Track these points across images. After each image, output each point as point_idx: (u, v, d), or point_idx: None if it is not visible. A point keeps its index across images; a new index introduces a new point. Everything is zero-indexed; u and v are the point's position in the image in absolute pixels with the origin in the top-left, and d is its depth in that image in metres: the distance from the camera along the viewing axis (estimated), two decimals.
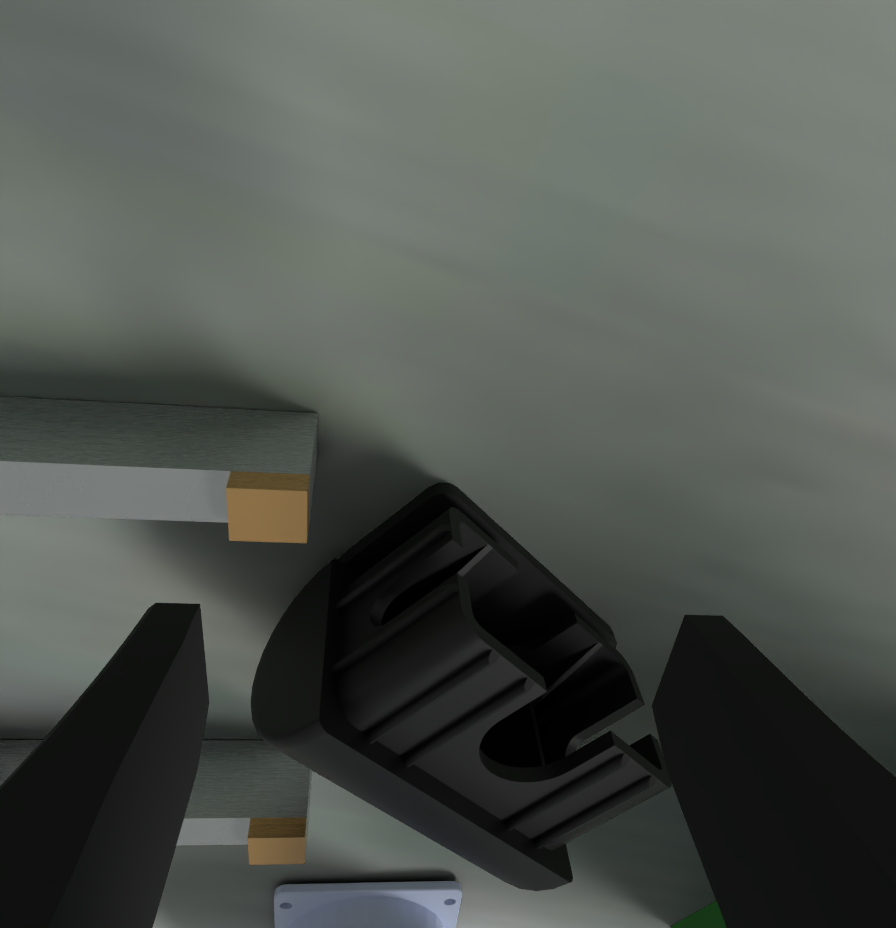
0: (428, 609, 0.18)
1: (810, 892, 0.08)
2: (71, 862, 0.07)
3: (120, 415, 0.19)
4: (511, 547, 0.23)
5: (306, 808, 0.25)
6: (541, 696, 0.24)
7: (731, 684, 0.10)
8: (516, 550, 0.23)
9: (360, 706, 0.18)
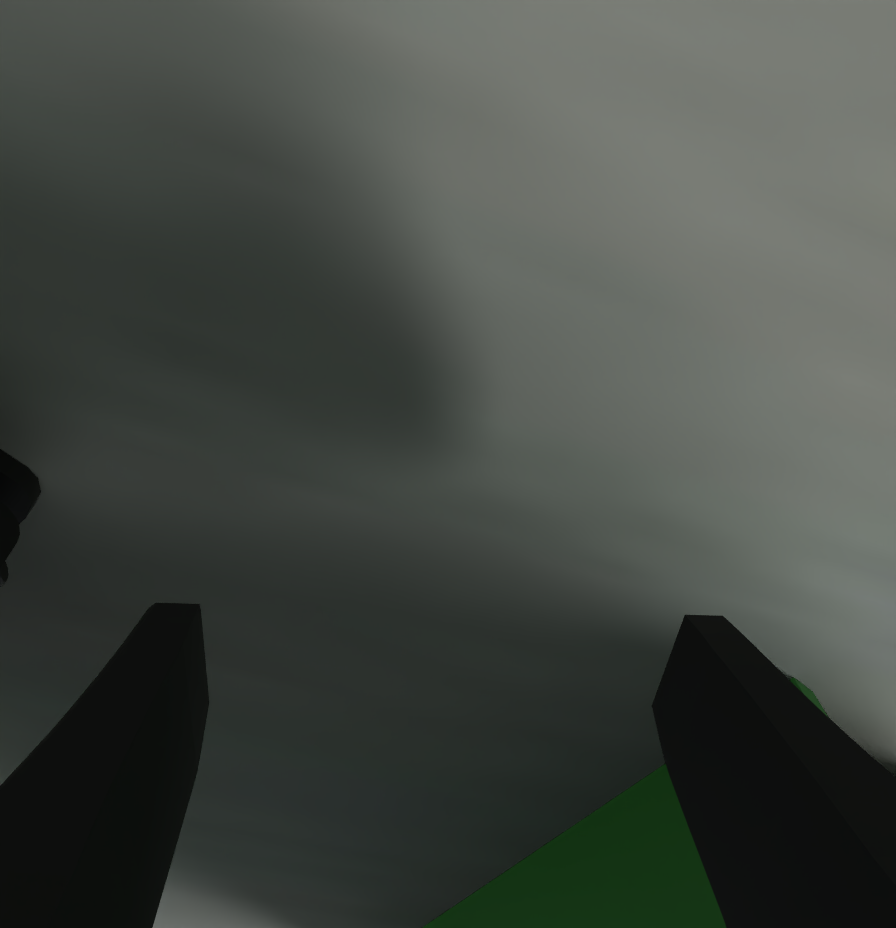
0: None
1: (810, 892, 0.08)
2: (71, 862, 0.07)
3: None
4: None
5: None
6: None
7: (731, 685, 0.10)
8: None
9: None
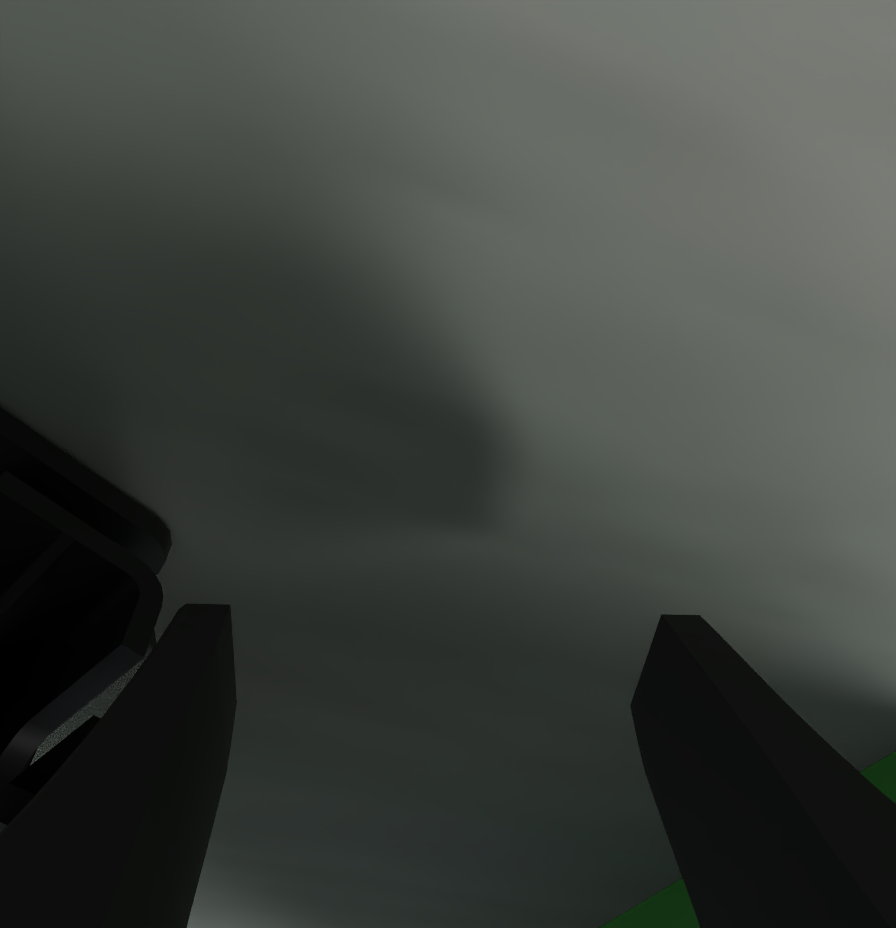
0: None
1: (779, 893, 0.08)
2: (120, 862, 0.07)
3: None
4: None
5: None
6: None
7: (705, 684, 0.10)
8: None
9: None
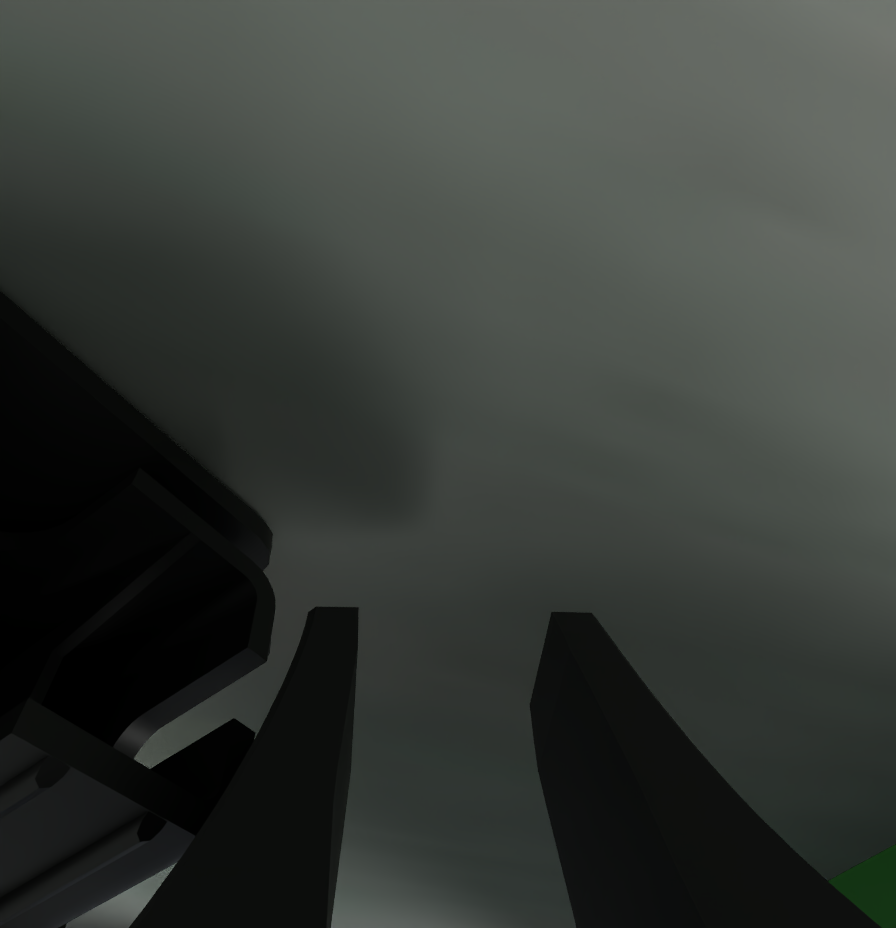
0: None
1: (632, 896, 0.08)
2: (323, 858, 0.07)
3: None
4: None
5: None
6: (77, 636, 0.12)
7: (580, 683, 0.10)
8: (1, 319, 0.11)
9: None
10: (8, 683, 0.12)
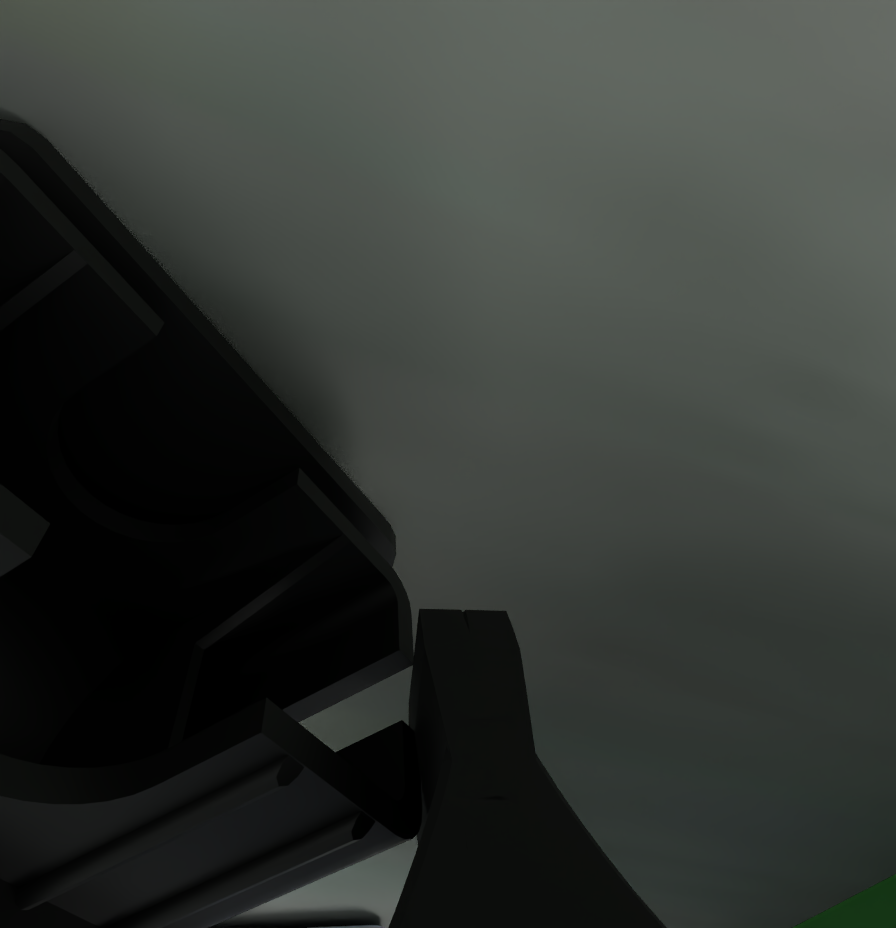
0: None
1: None
2: (551, 854, 0.07)
3: None
4: (172, 306, 0.11)
5: None
6: (220, 629, 0.12)
7: (429, 682, 0.09)
8: (182, 314, 0.11)
9: None
10: (145, 673, 0.12)
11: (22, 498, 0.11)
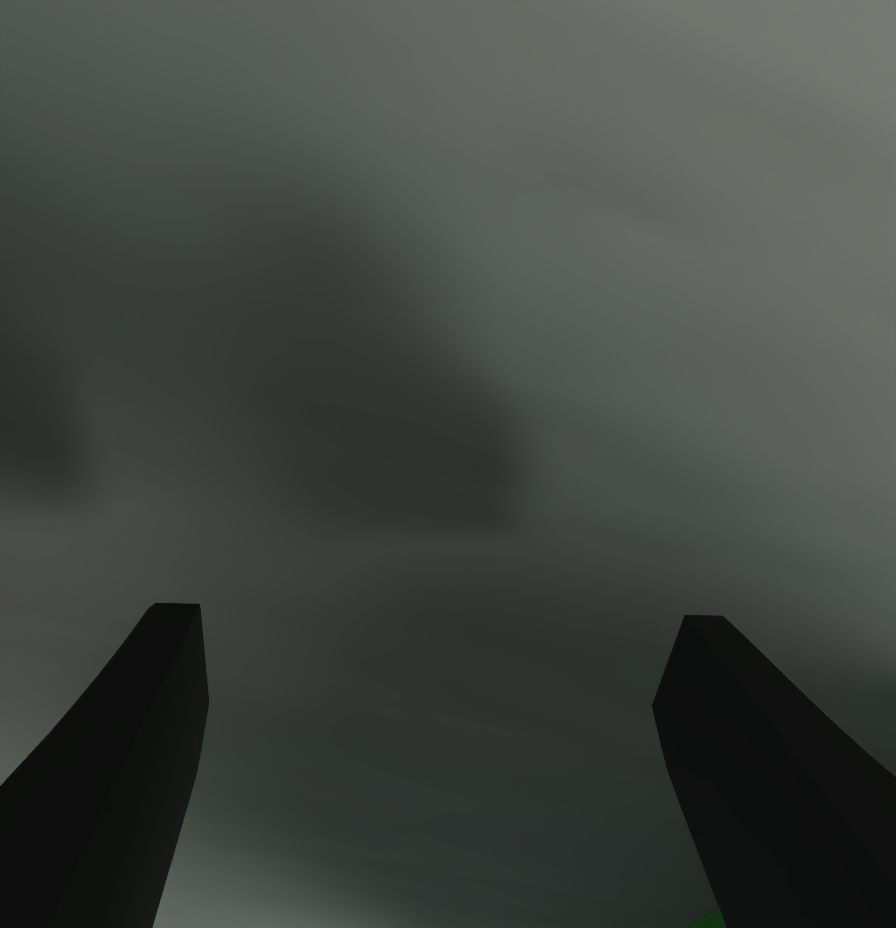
0: None
1: (810, 892, 0.08)
2: (71, 863, 0.07)
3: None
4: None
5: None
6: None
7: (731, 684, 0.10)
8: None
9: None
10: None
11: None
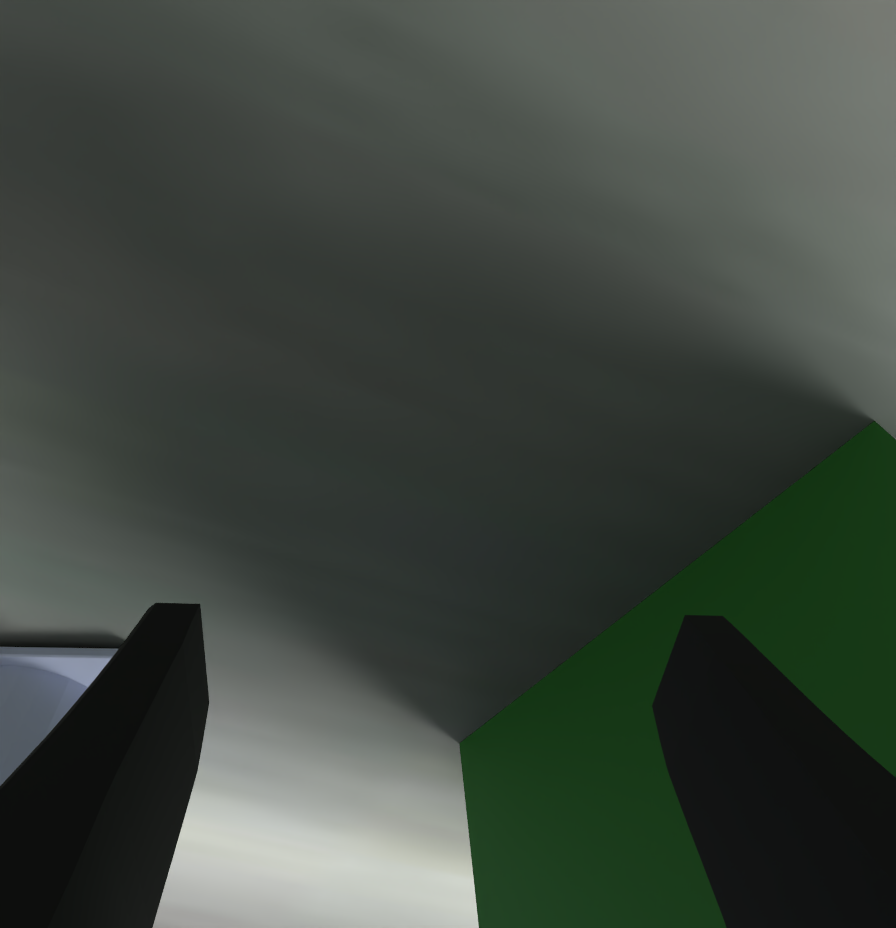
0: None
1: (810, 892, 0.08)
2: (71, 862, 0.07)
3: None
4: None
5: None
6: None
7: (731, 685, 0.10)
8: None
9: None
10: None
11: None
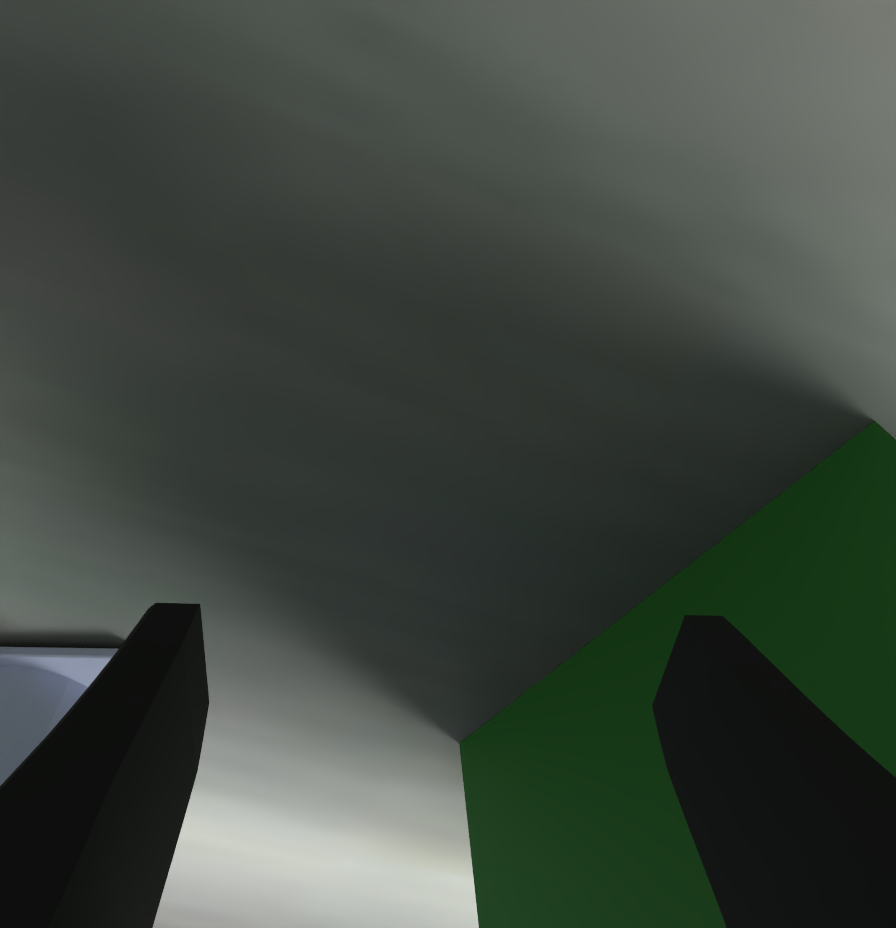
0: None
1: (810, 892, 0.08)
2: (71, 862, 0.07)
3: None
4: None
5: None
6: None
7: (731, 685, 0.10)
8: None
9: None
10: None
11: None
